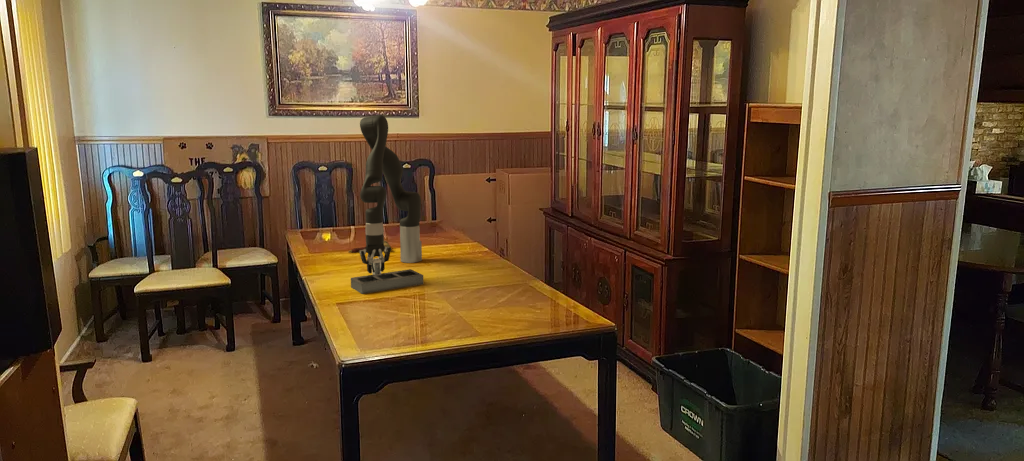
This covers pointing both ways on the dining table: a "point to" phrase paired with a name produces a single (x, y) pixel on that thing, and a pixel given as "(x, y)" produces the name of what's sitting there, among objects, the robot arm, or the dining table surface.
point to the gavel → (356, 250)
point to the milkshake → (376, 266)
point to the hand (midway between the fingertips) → (375, 271)
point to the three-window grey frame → (386, 281)
